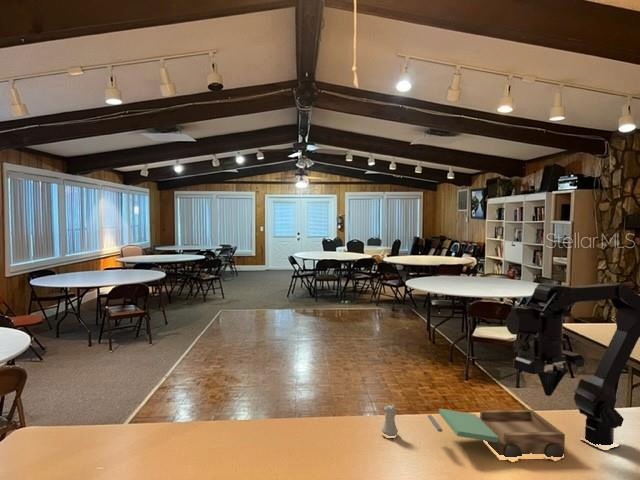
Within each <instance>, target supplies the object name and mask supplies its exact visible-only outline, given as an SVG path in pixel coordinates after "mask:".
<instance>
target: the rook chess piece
mask: <svg viewBox="0 0 640 480" xmlns="http://www.w3.org/2000/svg"><path fill="white" fill-rule="evenodd" d="M383 410H384V411H385V413H384V416H385V417H384V424H383V425H382V427H381V432H383V433H384V434H386V435H388V436H395V435H397V433H398V432H399V430H398V428H397V425H396V421H395V419H396V418H395V417H396V414H395V413H396V411H397V408H396V406H395V404H393V403H386V404H384V408H383Z"/></svg>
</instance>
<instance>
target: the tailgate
mask: <svg viewBox="0 0 640 480" xmlns="http://www.w3.org/2000/svg"><path fill="white" fill-rule="evenodd" d="M438 414H439V416H440V417H441V418H442V419H443V421H444V422H445V423H446V424H447V425H448V427H449V428H450V429H451V430H452V431H453V433H454V434H455V435H456V436H457V437H459V438H460V437H461V438H468V439H472V440H480V441H481V440H485V441H492V442H498V438H499V437H498V436H497V435H496V434H495V433H494V432H493V431H492V430H491V429H490V428H489V427H488V426H487V425H486V424H485V423H484V422H483V421H482V420H481V419H480V417H479V416H478V415H477V414H475V413H469V412H464V411H463V412H462V411H458V410H451V409H444V408H439V409H438ZM427 418H428V419H429V421H430V422H431V423H432V425H433V427H434V428H435V429H436V431H437V432H439V433H440V432H441V433H442V432H443V428H442V427H441V426H440V424H439V423H438V422H437V420H436V419H435V418H434V417H433V415H431V414H428V415H427Z"/></svg>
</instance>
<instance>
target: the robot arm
mask: <svg viewBox="0 0 640 480" xmlns="http://www.w3.org/2000/svg"><path fill="white" fill-rule="evenodd" d="M534 288H535V289H534V290H533V293H532V295H531V296H530V297H529V299H528V300H527V301H526V303H525V304H524V306H522V307H518V306H511V308H510V312H508V313H507V316H506V318H505V325H506V328H507V331H508V332H509V334H511V335H513V336H514V335H518V336H519V335H533V336H532V337H531V341H527V342H526V341H525V340H524V339H523V338H521V339H514V340H513V343H512V349H513V351H514V353H518V356H516V357H515V358H513V359H512V360H513V363H512V364H513V367H512V368H513V369H517V370H519V371H522V372H525V373H527V374H531V375H537V376H538V378H539V380H540V383H541V386H542V389H543V393H544V395H545V396H547V397H550V396H552V395H553V394H554V392H555V390H556V389H557V387H558V385H559V384H560V383H561V381H562V379H563V377H565V376H566V373H569V371H570V369H567V368H565V366H564V365H563V364H567V363H571V364H572V365H573V367H575V368H581V367H584V366H585V358H584V357H583V356H582V354H580V353H576V352H573V351H568V350H564V349H563V345H566V344H567V341H568V340H567V339H565V338H563V337H564V336H563V335H564V334H563V333H564V332H563V330H564V326H563V325H564V318H571V317H572V314H571V312H570V311H568V310H567V309H566V308H568V307H572V305H574V304H577V303H580V302H581V303H583V302H591V301H592V302H593V301H606V300H609V302H610V305H611V306H612V307H613V308H614V309H615V311H616V314H615V317H614V319H615V322H616V329H615V331H614V333H613V335H612V338H611V340H610V342H609V344H608V345H607V347H606V350H605V352H604V354H603V356H602V358H601V361H599V365H597V368H596V370H595V372H594V374H593V375H592V377H590V378H589V379H587V380H586V379H584V378H581V379H580V380H579V382H578V384H577V387H576V388H575V390H573V392H574V397H573V401H574V403H575V405H576V407H577V408H578V411H579V414H580V415H583V416H585V417H586V418H585V427H584V436H585V439H586V440H588V441H589V442H591V443H593V444H595V445H596V444H598V445H599V444H601V445H611V444H613V442H614V439H615V438H614V433H615V432H614V431H615V429H617V428H619V427H621V428H622V425H623V422H624V417H623V416H622V414H620V413H619V412H618V411H617V409H615V406H616V402H617V395H616V389H615V388H616V386H617V384H618V381H619V379H620V378H621V375H622V373H623V371H624V369H625V367H626V365H627V363H628V361H629V359H630V357H631V355H632V353H633V350H634V348H635V347H636V344H637V342H638V341H639V339H640V294H638V293H637V292H635V291H634V290H633V289H632V288H631V287H630V286H628V285H627V284H625V283H619V282H612V281H610V282H607V283H596V284H595V283H594V284H593V283H592V284H582V285H563V284H561V285H560V284H555V283H546V282H542V283H539V284H537V285H536V287H534Z"/></svg>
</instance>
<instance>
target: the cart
mask: <svg viewBox="0 0 640 480" xmlns="http://www.w3.org/2000/svg"><path fill="white" fill-rule="evenodd" d="M479 413H480V414H479V415H480V417H479V418H480V419H481V420H482V421H483V422H484V423H485V424H486V425H487V426H488V427H489V428H490V429H491V430H492V431H493V432H494V433H495V434H496V435H497V436H498V437H499V438H498V442H492V441H487V442H488V444H489V445H490V446H491V447H492V448H493V449H494V450H495V451H496V452H497V453H498V454H499V455H504V456H505V457H517V456H522V454H530V453H532V454H545V455H546V456H547V457H551V456H553V457H562V456H563V454H564V455H565V451H566V450H565V446H566V445H565V441H566V437H565V436H566V435H565V433H564V432H562V430H560V429H559V428H557V427H556V426H554V425H553V424H552V423H551V422H549V421H548V420H546V419H545V418H544V417H542V416H541V415H540V414H538V413H537V412H535V410H533V409H499V410H497V409H495V410H493V409H492V410H487V409H486V410H480V411H479Z"/></svg>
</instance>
